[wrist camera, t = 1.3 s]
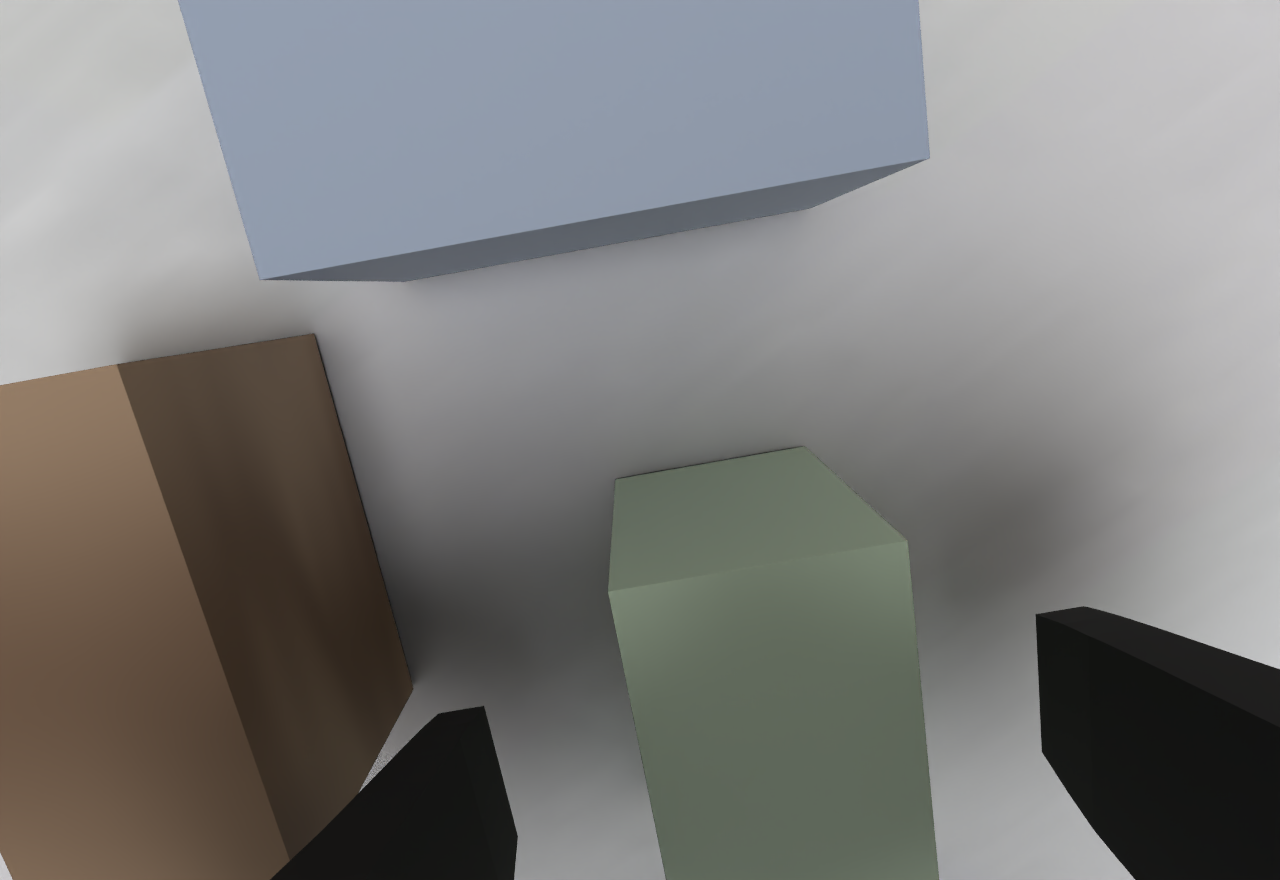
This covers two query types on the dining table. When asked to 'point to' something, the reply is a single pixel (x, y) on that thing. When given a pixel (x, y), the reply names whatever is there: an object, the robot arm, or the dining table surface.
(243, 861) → the walnut brick
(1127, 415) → the dining table surface
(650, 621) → the sage brick
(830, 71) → the slate brick
